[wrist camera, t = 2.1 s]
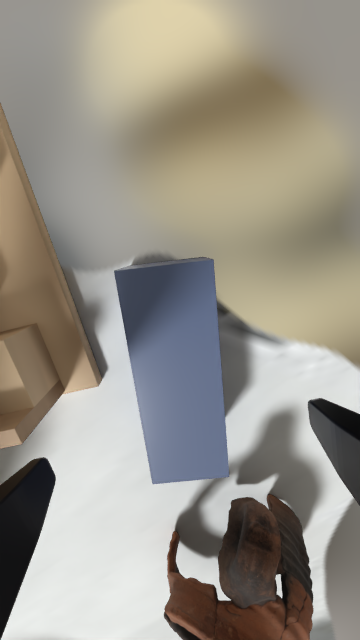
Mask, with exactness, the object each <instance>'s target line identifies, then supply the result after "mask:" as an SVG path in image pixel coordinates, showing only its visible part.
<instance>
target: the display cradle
mask: <svg viewBox="0 0 360 640" xmlns="http://www.w3.org/2000/svg"><path fill="white" fill-rule="evenodd" d="M101 381H102V377H101V375H100V372H99V369H98V366H97V364H96V361H95V358H94V356H93V353H92V350H91V348H90V345H89V342H88V339H87V337H86V334H85V331H84V329H83V326H82V323H81V320H80V318H79V315H78V312H77V310H76V307H75V304H74V301H73V299H72V296H71V293H70V291H69V288H68V285H67V282H66V280H65V277H64V274H63V272H62V269H61V266H60V263H59V261H58V258H57V255H56V253H55V250H54V247H53V244H52V242H51V239H50V236H49V234H48V231H47V228H46V226H45V223H44V220H43V217H42V215H41V212H40V209H39V206H38V204H37V201H36V198H35V196H34V193H33V190H32V187H31V185H30V182H29V180H28V177H27V174H26V171H25V169H24V166H23V163H22V160H21V158H20V155H19V152H18V149H17V147H16V144H15V141H14V139H13V136H12V133H11V131H10V128H9V125H8V122H7V120H6V117H5V114H4V112H3V109H2V106H1V103H0V449H2V448H6V447H11V446H16V445H20V444H22V443H23V442H24V441H25V440H26V439H27V437H28V436H29V435H30V434H31V432H32V431H33V430H34V429H35V427H36V426H37V425H38V424H39V422H40V421H41V420H42V419H43V417H44V416H45V415H46V414H47V412H48V411H49V410H50V409H51V407H52V406H53V405H54V404H55V403H56V401H57V400H58V399H59V398H60V396H61V395H62V394H67V393H71V392H75V391H80V390H84V389H89V388H93V387H97V386H99V384H100V383H101Z"/></svg>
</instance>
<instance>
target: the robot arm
mask: <svg viewBox="0 0 360 640" xmlns="http://www.w3.org/2000/svg"><path fill="white" fill-rule="evenodd" d="M308 411H309V419H310V424H311V427H312V429H313V431H314V433H315V435H316V436H317V438H318V440H319V442H320V443H321V445H322V447H323V449H324V451H325V452H326V454H327V456H328V458H329V459H330V461H331V463H332V465H333V466H334V468H335V470H336V472H337V473H338V475H339V477H340V478H341V480H342V481H343V483H344V484H345V485H346V487H347V488H348V490H349V491H350V493H351V494H352V495H353V497H354V498H355V500H356V501H357V502H358V504H359V505H360V414H358V413H356V412H353V411H351V410H349V409H346V408H344V407H342V406H339V405H337V404H334V403H332V402H330V401H327V400H325V399H322V398H318V399H314V400H310V401H309V402H308ZM55 480H56V478H55V474H54V472H53V470H52V467H51V465H50V463H49V461H48V459H46V458H44V457H43V458H38V459H34V460H32V461H30V462H29V463H28V464H27V465H25V466H24V467H23V468H22V469H20V470H19V471H18V472H17V473H15V474H14V475H13V476H11V477H10V478H9V479H8V480H6V481H5V482H4V483H3V484H1V485H0V640H1V638H2V635H3V632H4V630H5V627H6V624H7V622H8V619H9V616H10V614H11V611H12V609H13V606H14V603H15V601H16V598H17V595H18V593H19V590H20V587H21V585H22V582H23V579H24V577H25V574H26V571H27V569H28V566H29V563H30V561H31V558H32V555H33V553H34V550H35V547H36V545H37V542H38V539H39V536H40V533H41V530H42V527H43V524H44V520H45V517H46V513H47V510H48V506H49V503H50V499H51V496H52V492H53V489H54V486H55Z"/></svg>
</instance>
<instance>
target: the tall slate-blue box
mask: <svg viewBox="0 0 360 640" xmlns="http://www.w3.org/2000/svg"><path fill="white" fill-rule="evenodd" d="M114 273H115V279H116V284H117V290H118V295H119V301H120V307H121V312H122V318H123V323H124V329H125V334H126V340H127V345H128V351H129V356H130V362H131V367H132V373H133V378H134V384H135V390H136V395H137V401H138V406H139V412H140V417H141V423H142V428H143V434H144V439H145V445H146V450H147V456H148V461H149V467H150V472H151V478H152V484H160V483H170V482H180V481H191V480H201V479H212V478H222V477H229V466H228V453H227V439H226V425H225V411H224V398H223V384H222V370H221V356H220V342H219V329H218V315H217V301H216V288H215V275H214V274H215V273H214V260H213V259H210V258H206V257H199V258H189V259H181V260H173V261H165V262H156V263H147V264H139V265H131V266H128V267H124V268H121V269H118V270H115V271H114Z"/></svg>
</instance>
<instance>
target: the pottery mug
mask: <svg viewBox="0 0 360 640" xmlns="http://www.w3.org/2000/svg"><path fill="white" fill-rule="evenodd" d="M267 503H268V507H269V509H268V508H267V507H266V506H265V505H263V504H262V503H259V502H258V501H257V500H255V499H254V498H250V497H245V498H239V499H235V500H232V502H231V509H230V510H229V521H228V528H227V532H226V533H225V535H224V538H223V543H222V548H221V550H220V552H219V556H218V564H219V581H220V585H221V589H222V591H223V592H224V594H225V595H226V596H227V597H228V598H230V599H231V601H219V600H218V598H217V592H216V588H215V586H214V585H212V584H206V583H201V582H199V581H198V580H197V579H195V578H188V579H186V578H184V577H183V576H182V575H181V574H180V573H179V570H178V567H177V564H176V553H177V548H178V544H179V539H180V537H179V535H178V533H177V532H176V531H174V532H173V534H172V540H171V542H170V546H169V547H170V549H169V552H168V556H167V560H168V580H169V586H170V593H171V595H170V598H169V601H168V603H167V604H166V606H165V612H164V618H165V619H166V620H167V622H168V623H169V625H170V627H171V628H172V629H173V630H174V631H175V632H177V634H178V635H179V636H180V637H181V638H182V639H183V640H309V639H310V631H311V629H312V619H311V618H312V614H313V605H312V603H313V593H312V590H311V589H312V580H311V578H310V573H311V570H310V568H309V566H308V564H309V557H308V555H307V552H306V547H305V544H304V539H303V535H302V526H301V524H300V521H299V519H298V518H297V516H296V515H295V514H294V512H293V511H292V510H291V509H290V508H289V507H288V506H287V505H286V504H284V503H283V502H282V501H281V500H279V499H278V498H276V497H275V496H273V495H271V494H269V495H268V496H267ZM277 574H281V582H282V593H283V597H282V598H281V597H280V596H279V595H276V592H277V585H276V580H275V577H276V575H277Z"/></svg>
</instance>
